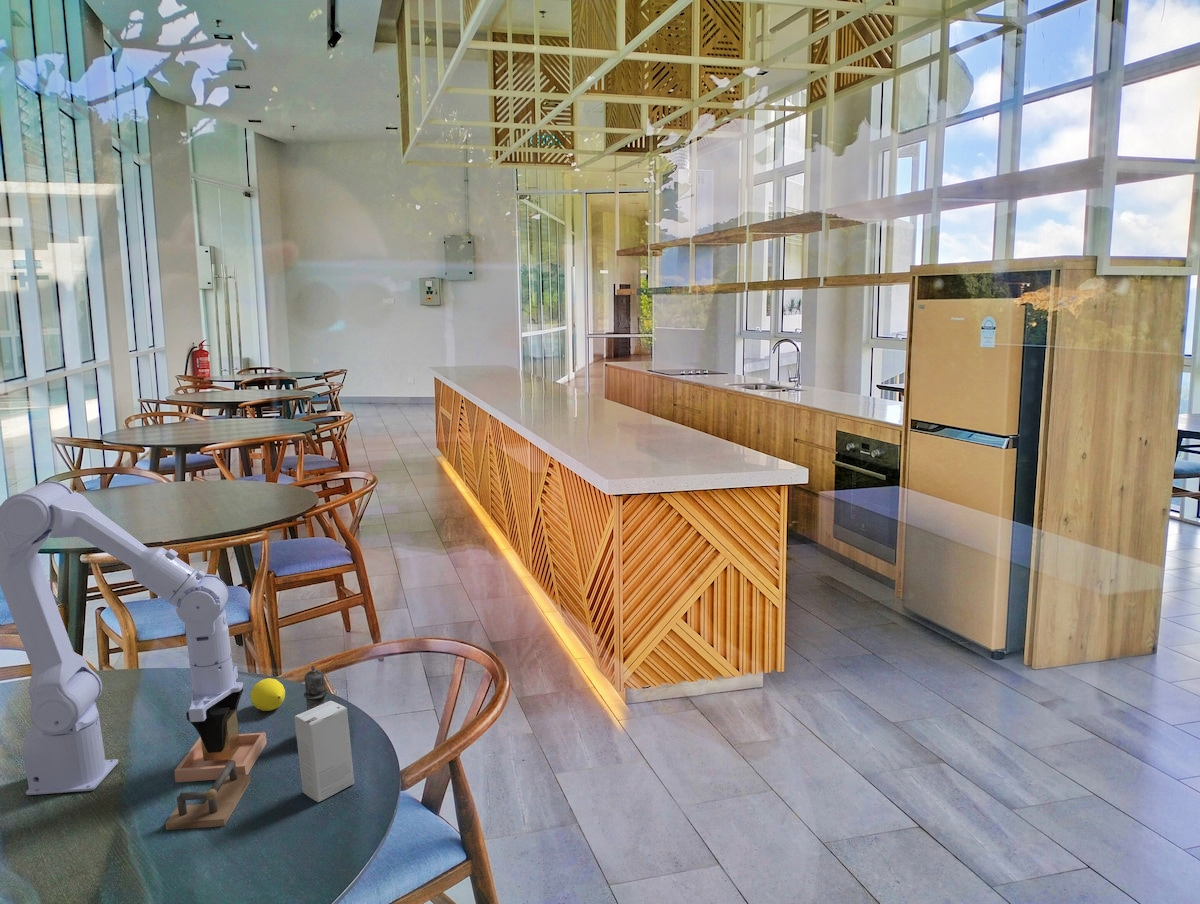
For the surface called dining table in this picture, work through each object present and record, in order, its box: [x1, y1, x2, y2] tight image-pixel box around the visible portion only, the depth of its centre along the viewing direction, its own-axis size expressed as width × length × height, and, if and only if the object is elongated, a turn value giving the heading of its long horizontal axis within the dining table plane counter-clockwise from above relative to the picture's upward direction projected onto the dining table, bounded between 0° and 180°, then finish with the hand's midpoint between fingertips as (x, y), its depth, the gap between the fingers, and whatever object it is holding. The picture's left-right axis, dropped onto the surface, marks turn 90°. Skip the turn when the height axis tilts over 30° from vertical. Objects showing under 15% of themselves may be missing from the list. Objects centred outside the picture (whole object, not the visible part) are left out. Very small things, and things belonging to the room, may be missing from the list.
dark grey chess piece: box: [303, 665, 329, 711], centre depth 137 cm, size 6×6×12 cm
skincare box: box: [294, 700, 355, 803], centre depth 121 cm, size 6×4×12 cm
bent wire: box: [164, 760, 252, 831], centre depth 120 cm, size 8×11×4 cm
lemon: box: [249, 677, 286, 712], centre depth 147 cm, size 7×5×5 cm
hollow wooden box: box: [201, 709, 240, 761], centre depth 130 cm, size 4×4×6 cm
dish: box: [173, 731, 268, 783], centre depth 131 cm, size 10×10×2 cm
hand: (220, 743), depth 131 cm, fingers closed on hollow wooden box, 4 cm apart
